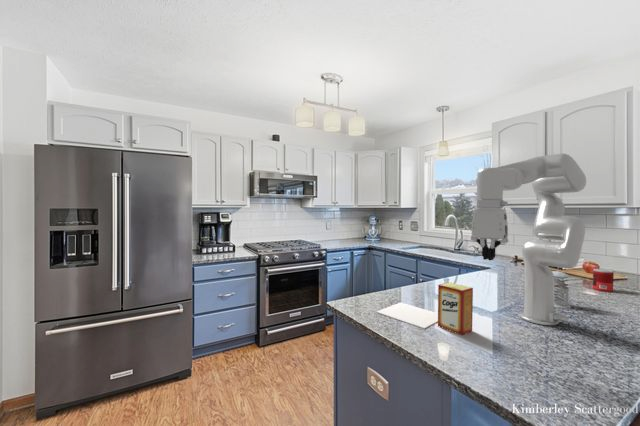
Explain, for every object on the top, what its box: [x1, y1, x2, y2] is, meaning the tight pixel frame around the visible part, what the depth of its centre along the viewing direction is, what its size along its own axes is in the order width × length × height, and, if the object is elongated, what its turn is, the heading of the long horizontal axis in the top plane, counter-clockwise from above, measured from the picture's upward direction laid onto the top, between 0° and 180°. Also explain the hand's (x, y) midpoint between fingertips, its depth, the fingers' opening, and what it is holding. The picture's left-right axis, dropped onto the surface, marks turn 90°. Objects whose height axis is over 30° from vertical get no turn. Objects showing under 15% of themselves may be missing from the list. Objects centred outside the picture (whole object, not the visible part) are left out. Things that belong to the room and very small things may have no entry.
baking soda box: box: [437, 281, 474, 336], centre depth 107 cm, size 10×6×16 cm
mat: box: [375, 302, 438, 330], centre depth 121 cm, size 22×18×1 cm
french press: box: [551, 270, 572, 309], centre depth 135 cm, size 10×12×25 cm
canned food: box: [592, 268, 614, 293], centre depth 158 cm, size 8×8×11 cm
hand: (488, 259), depth 99 cm, fingers closed
